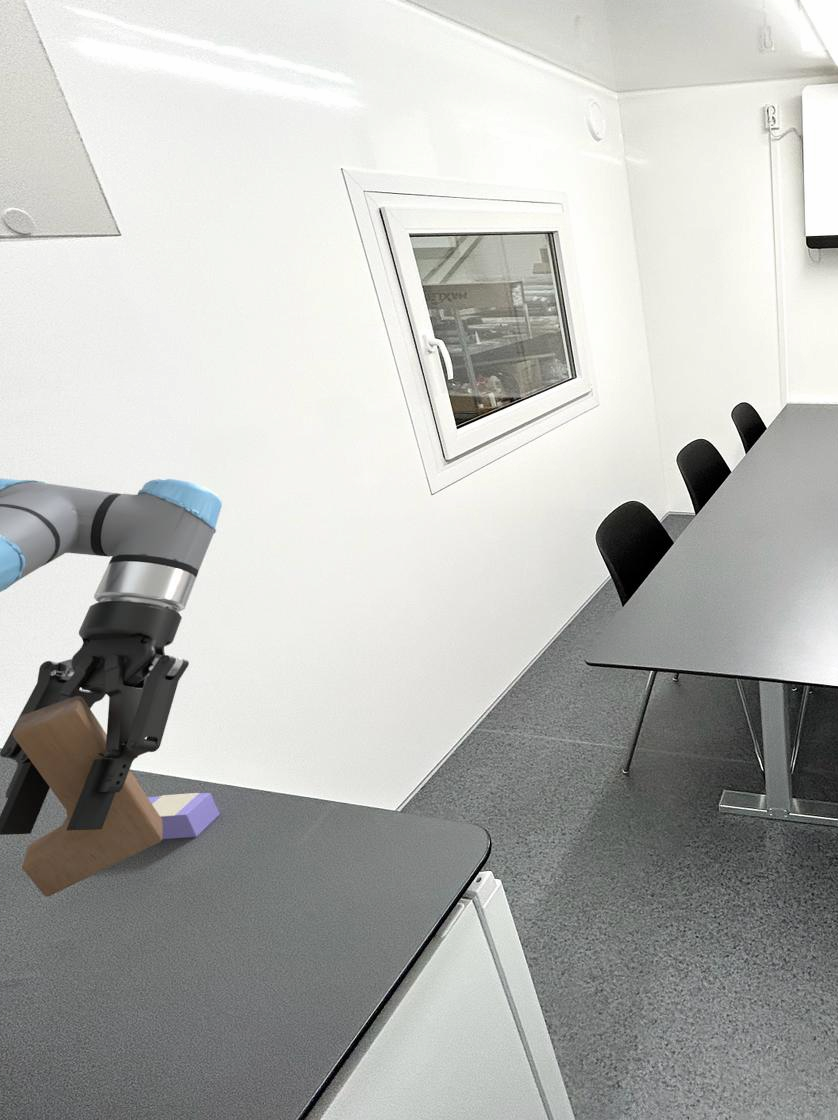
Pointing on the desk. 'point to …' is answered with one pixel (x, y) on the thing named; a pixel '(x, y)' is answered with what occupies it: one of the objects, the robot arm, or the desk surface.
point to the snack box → (184, 814)
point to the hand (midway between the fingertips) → (48, 831)
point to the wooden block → (64, 762)
